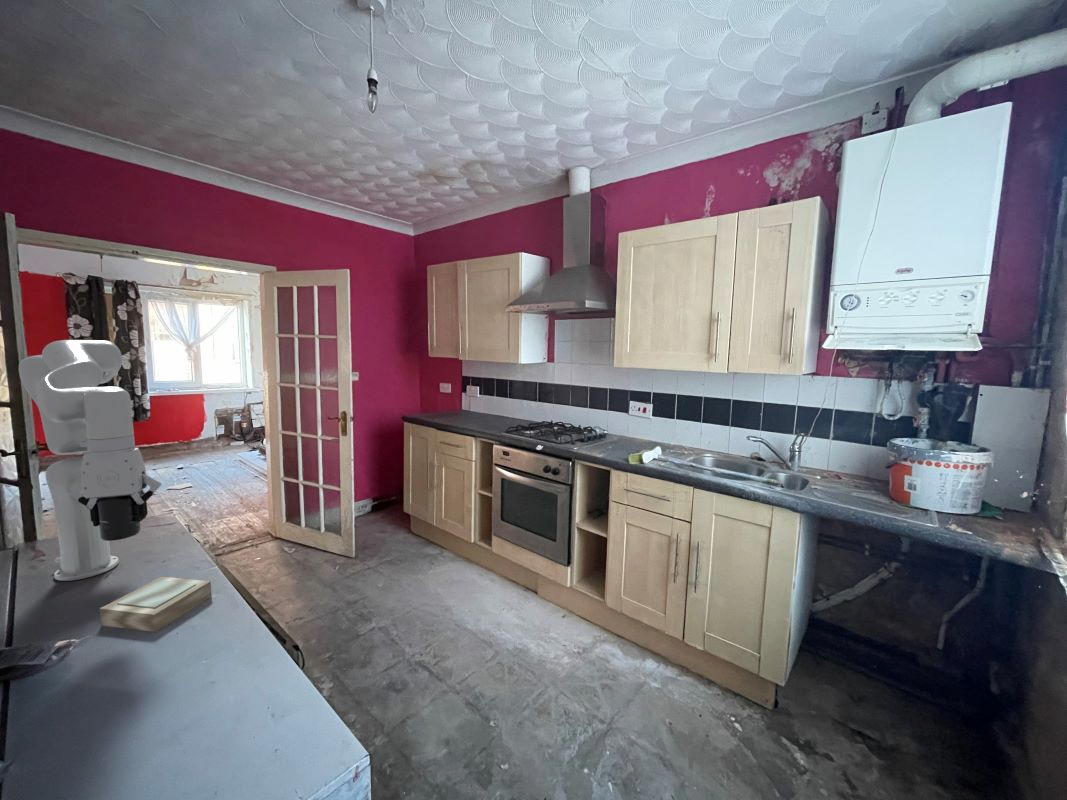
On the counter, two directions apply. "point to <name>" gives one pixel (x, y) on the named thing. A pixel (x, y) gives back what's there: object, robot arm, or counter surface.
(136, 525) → the supplement bottle
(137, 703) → the counter surface
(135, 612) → the birch stand
